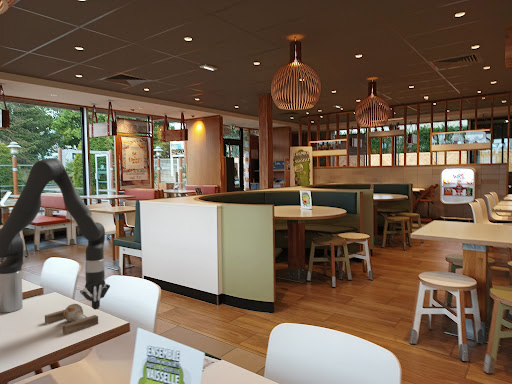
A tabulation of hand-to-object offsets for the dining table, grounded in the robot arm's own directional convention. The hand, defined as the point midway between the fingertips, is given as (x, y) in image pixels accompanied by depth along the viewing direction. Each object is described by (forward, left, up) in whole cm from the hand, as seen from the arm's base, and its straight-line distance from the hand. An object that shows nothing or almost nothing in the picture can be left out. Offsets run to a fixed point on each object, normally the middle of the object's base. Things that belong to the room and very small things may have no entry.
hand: (95, 308), depth 158 cm
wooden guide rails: (0, -10, -3) cm, 11 cm away
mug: (+1, -8, -3) cm, 9 cm away
